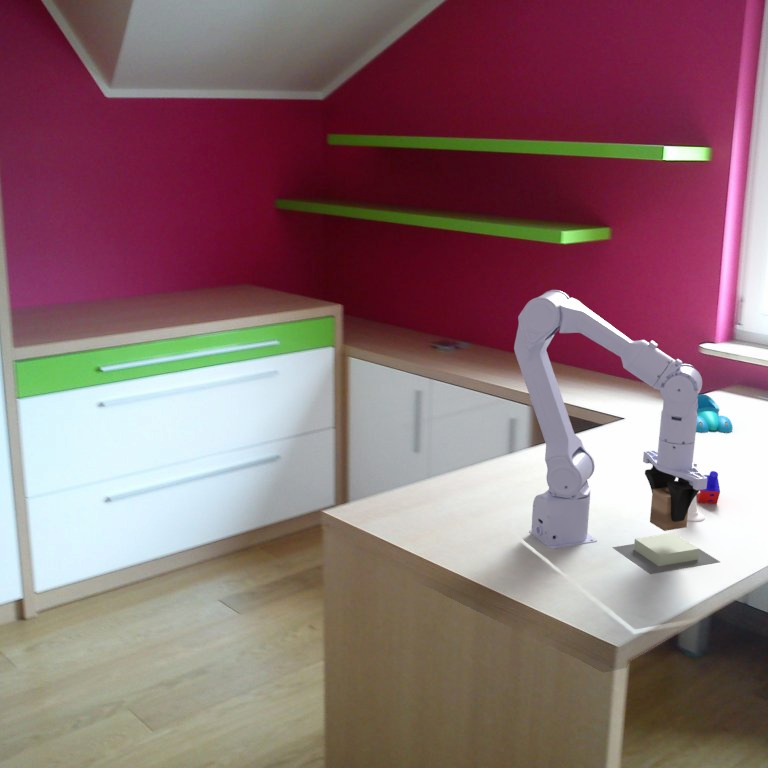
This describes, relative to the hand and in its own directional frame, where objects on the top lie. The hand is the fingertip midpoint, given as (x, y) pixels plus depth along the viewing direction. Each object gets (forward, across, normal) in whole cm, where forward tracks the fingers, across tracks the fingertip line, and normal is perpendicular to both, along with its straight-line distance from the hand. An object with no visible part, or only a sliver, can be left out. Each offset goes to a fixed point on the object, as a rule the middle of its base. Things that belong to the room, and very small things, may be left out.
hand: (669, 515), depth 167 cm
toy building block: (+8, +20, -24) cm, 32 cm away
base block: (+7, 0, 0) cm, 7 cm away
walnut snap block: (+2, 0, 0) cm, 2 cm away
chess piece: (+8, +12, -15) cm, 21 cm away
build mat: (+8, 0, 0) cm, 8 cm away
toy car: (+8, +64, -58) cm, 86 cm away
